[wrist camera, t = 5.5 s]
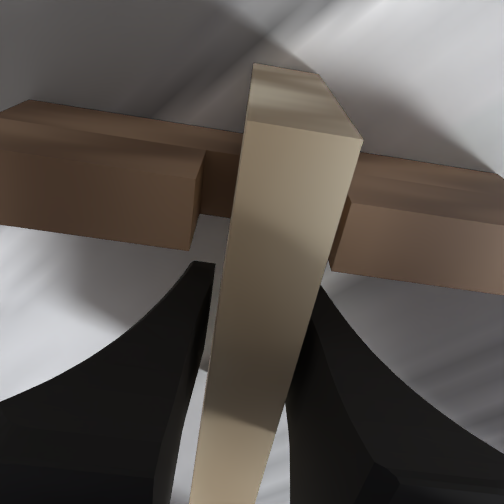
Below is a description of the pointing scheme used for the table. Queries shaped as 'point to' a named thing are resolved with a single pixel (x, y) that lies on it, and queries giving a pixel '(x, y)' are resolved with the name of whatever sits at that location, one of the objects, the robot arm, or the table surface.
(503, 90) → the table surface
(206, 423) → the beige wooden plank
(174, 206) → the notched walnut block
